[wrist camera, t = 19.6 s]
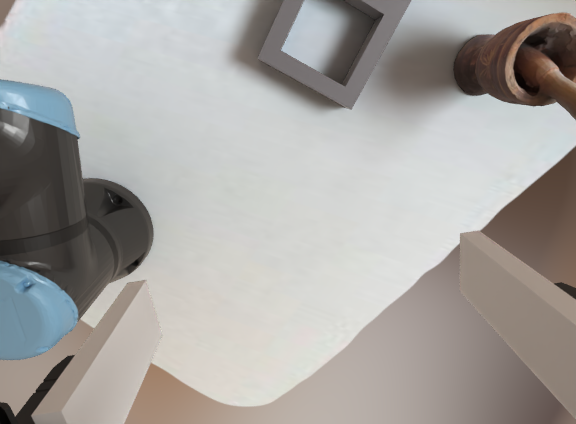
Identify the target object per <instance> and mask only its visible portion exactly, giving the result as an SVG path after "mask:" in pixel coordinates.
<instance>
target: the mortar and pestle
mask: <svg viewBox="0 0 576 424" xmlns="http://www.w3.org/2000/svg"><path fill="white" fill-rule="evenodd" d="M454 75H455V79H456V81H457V82H458V84H459V86H460V87H461V88H462V89H463V90H464V91H465V92H467V93H468V94H470V95H475V96H477V95H483V94H487V93H488V94H489V95H491V96H493V97H495V98H497V99H499V100H501V101H504V102H508V103H512V104H521V105H529V106H544V105H549V104H553V103H555V102H558V103H559V104H560V105H561V106H562V107H563V108H565V109H566V110H567V111H568V112H569V113H570V114H571V116H572V117H573V118H574V119H576V18H575V17H573V16H572V15H571V14H570V13H563V12H562V13H556V14H549V15H545V16H541V17H537V18H533V19H530V20H526V21H522V22H519V23H516V24H514V25H512V26H510V27H508V28H505V29H503V30H502V31H500V32H499V33H497V34H496V35H478V36H476V37H474V38H472V39H471V40H470V41H468V42H467V43H466V44H465V45H464V47H463V48H462V49H461V50H460V52H459V53H458V55H457V57H456V60H455V63H454Z"/></svg>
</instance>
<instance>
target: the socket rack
mask: <svg viewBox="0 0 576 424" xmlns="http://www.w3.org/2000/svg"><path fill="white" fill-rule="evenodd" d="M344 1H345V2H347V3H349V4H350V5H352V6H353V7H355V8H357V9H358V10H360V11H362V12H363V13H365V14H367V15H368V16H370V17H372V18H373V19H375V22H374V24H373V26H372V28H371V30H370V32H369V33H368V35H367V37H366V39H365V41H364V43H363V45H362V47H361V49H360V50H359V52H358V54H357V56H356V58H355V60H354V62H353V64H352V65H351V67H350V69H349V71H348V73H347V75H346V77H345V79H344V81H343V82H342V84H339V83H338V82H336V81H334V80H332V79H330V78H329V77H327V76H325V75H323V74H322V73H320V72H318V71H316V70H314V69H313V68H311V67H309V66H307V65H306V64H304V63H302V62H300V61H298V60H297V59H295V58H293V57H291V56H289V55H288V54H286V53H284V52H282V51H281V49H282V47H283V45H284V43H285V41H286V38H287V36H288V34H289V32H290V30H291V28H292V26H293V24H294V21H295V19H296V17H297V15H298V13H299V11H300V9H301V7H302V4H303V2H304V0H284V1H283V3H282V5H281V7H280V10H279V12H278V14H277V16H276V18H275V21H274V23H273V25H272V27H271V29H270V32H269V34H268V36H267V38H266V40H265V42H264V45H263V47H262V49H261V51H260V53H259V56H258V60H260V61H261V62H263V63H265V64H267V65H269V66H271V67H272V68H274V69H276V70H278V71H280V72H281V73H283V74H285V75H287V76H289V77H291V78H292V79H294V80H296V81H298V82H300V83H301V84H303V85H305V86H307V87H309V88H311V89H312V90H314V91H316V92H318V93H320V94H321V95H323V96H325V97H327V98H329V99H331V100H332V101H334V102H336V103H338V104H340V105H341V106H343V107H345V108H348V109H352V108H353V106H354V104H355V102H356V100H357V98H358V97H359V95H360V93H361V91H362V89H363V88H364V86H365V84H366V82H367V80H368V78H369V77H370V75H371V73H372V71H373V69H374V67H375V66H376V64H377V62H378V60H379V58H380V56H381V55H382V53H383V51H384V49H385V47H386V46H387V44H388V42H389V40H390V38H391V36H392V35H393V33H394V31H395V29H396V27H397V25H398V24H399V22H400V20H401V18H402V16H403V15H404V13H405V11H406V9H407V7H408V5H409V4H410V2H411V0H344Z"/></svg>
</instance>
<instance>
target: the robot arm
mask: <svg viewBox="0 0 576 424" xmlns="http://www.w3.org/2000/svg"><path fill="white" fill-rule="evenodd" d="M79 138H80V135H79V133H78V131H77V130H76V125H75V119H74V114H73V108H72V105H71V103H70V101H69V99H68V98H67V97H66V96H65V95H64V94H63V93H61V92H60V91H58V90H56V89H53V88H49V87H44V86H39V85H34V84H28V83H22V82H15V81H8V80H1V79H0V360H21V359H27V358H31V357H35V356H38V355H40V354H42V353H44V352H46V351H48V350H49V349H51V348H52V347H53V346H55V345H56V344H57V342H59V341H60V339H62V337H63V336H64V335H66V334H67V333H68V332H70V331H72V330H73V328H74V327H75V326H76V324H77V322H78V321H79V319H80V318H81V317H82V316H83V314H84V313H85V312H86V311H87V309H88V308H89V307H90V306H91V304H92V303H93V302H94V301H95V299H96V298H97V297H98V296H99V294H100V293H101V292H102V291H103V290H104V288H105V287H106V286H107V285H108V284H109V283H111V282H114V281H116V280H118V279H121V278H123V277H125V276H127V275H129V274H130V273H132V272H133V271H134V270H136V269H137V268H138V267H139V266H140V264H141V263H142V262H143V260H144V259H145V258H146V256H147V255H148V253H149V251H150V249H151V246H152V242H153V225H152V221H151V218H150V215H149V213H148V211H147V209H146V208H145V206H144V205H143V203H142V202H141V201H140V200H139V199H138V198H137V197H136V196H135V195H134V194H133V193H132V192H131V191H129V190H128V189H126V188H125V187H123V186H121V185H119V184H117V183H114V182H111V181H108V180H103V179H83V178H82V171H81V163H80V156H79V148H78V141H77V139H79ZM460 292H461V293H462V294H463V295H464V297H465V298H466V299H467V300H468V301H469V302H470V303H471V304H472V305H473V307H474V308H475V309H476V310H477V311H478V312H479V313H480V314H481V315H482V316H483V317H484V319H485V320H486V321H487V322H488V323H489V324H490V325H491V326H492V328H493V329H494V330H495V331H496V332H497V333H498V334H499V335H500V336H501V337H502V339H504V341H505V342H506V343H507V344H508V345H509V346H510V347H511V348H512V350H513V351H514V352H515V353H516V354H517V355H518V356H519V357H520V358H521V359H522V361H523V362H524V363H525V364H526V365H527V366H528V367H529V368H530V370H531V371H532V372H533V373H534V374H535V375H536V376H537V377H538V378H539V379H540V381H541V382H542V383H543V384H544V385H545V386H546V387H547V388H548V389H549V390H550V391H551V393H552V394H553V395H554V396H555V397H556V398H557V399H558V400H559V402H560V403H561V404H562V405H563V406H564V407H565V408H566V409H567V410H568V412H569V413H570V414H572V416H573V417H574V418H575V419H576V288H574V287H572V286H569V285H567V284H564V283H555V284H553V283H552V282H550V281H549V280H547V279H546V278H545V277H543V276H542V275H540V274H539V273H538V272H536V271H535V270H533V269H532V268H531V267H529V266H528V265H526V264H525V263H523V262H522V261H520V260H519V259H518V258H516V257H515V256H513V255H512V254H511V253H509V252H508V251H507V250H505V249H504V248H502V247H501V246H499V245H498V244H497V243H495V242H494V241H492V240H491V239H489V238H488V237H487V236H485V235H484V234H483V233H481V232H480V231H473V232H466V233H460ZM162 336H163V335H162V331H161V328H160V325H159V321H158V318H157V315H156V311H155V308H154V305H153V302H152V298H151V295H150V292H149V288H148V285H147V282H146V280H143V281H136V282H130V283H127V285H126V286H125V287H124V289H123V290H122V292H121V293H120V294H119V296H118V297H117V298H116V300H115V301H114V303H113V304H112V305H111V307H110V308H109V309H108V311H107V312H106V313H105V315H104V316H103V318H102V319H101V320H100V322H99V323H98V324H97V326H96V327H95V329H94V330H93V331H92V333H91V334H90V336H89V337H88V338H87V340H86V341H85V342H84V344H83V345H82V347H81V348H80V349H79V351H78V352H77V353H76V355H72V356H67V357H66V358H65V359H64V360H62V361H61V362H60V363H59V364H57V365H56V366H55V367H54V368H53V369H52V370H51V371H50V373H49V374H48V375H47V377H46V378H45V379H44V382H43V383H41V384H40V386H39V387H38V388H37V389H36V393H33V395H32V396H31V397H30V398H29V400H28V401H27V402H26V404H25V405H24V406H23V408H22V409H21V410H20V411H19V413H18V414H17V415H16V417H15V416H14V414H13V412H12V410H11V408H10V406H9V405H8V404H7V403H1V402H0V424H124V423H125V420H126V418H127V416H128V413H129V411H130V409H131V406H132V404H133V402H134V400H135V397H136V395H137V393H138V391H139V388H140V386H141V383H142V381H143V379H144V376H145V375H146V372H147V370H148V368H149V365H150V363H151V361H152V358H153V356H154V354H155V352H156V349H157V347H158V345H159V342H160V340H161V338H162Z"/></svg>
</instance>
